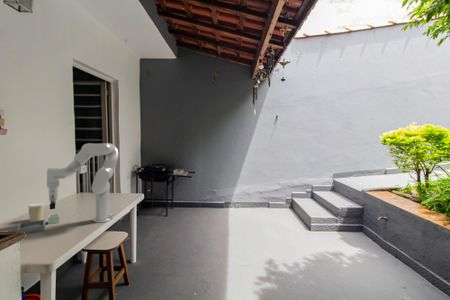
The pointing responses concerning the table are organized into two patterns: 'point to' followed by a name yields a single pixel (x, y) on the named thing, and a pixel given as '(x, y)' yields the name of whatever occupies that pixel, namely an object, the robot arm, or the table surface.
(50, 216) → the box
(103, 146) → the robot arm
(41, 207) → the coffee cup
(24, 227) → the large crate
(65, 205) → the table surface
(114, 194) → the table surface
